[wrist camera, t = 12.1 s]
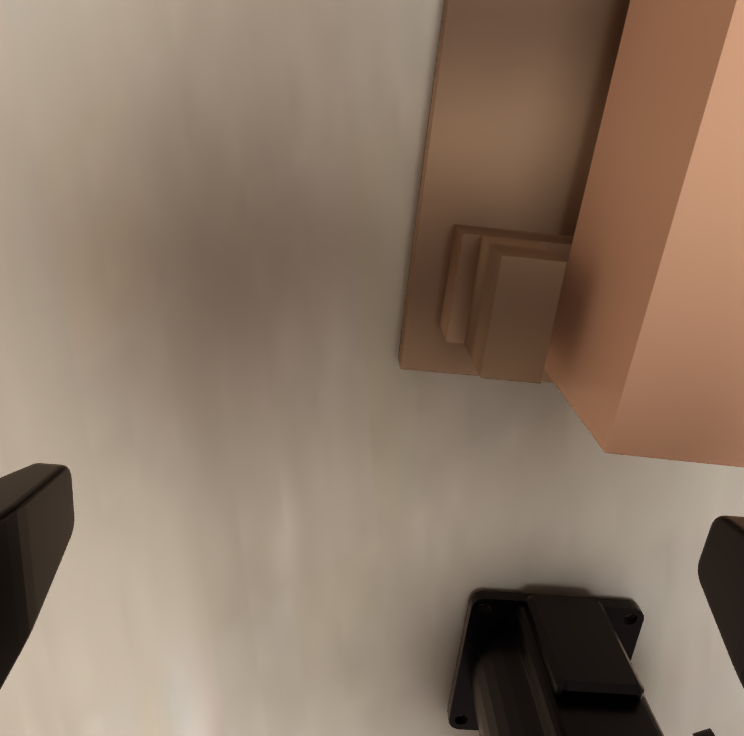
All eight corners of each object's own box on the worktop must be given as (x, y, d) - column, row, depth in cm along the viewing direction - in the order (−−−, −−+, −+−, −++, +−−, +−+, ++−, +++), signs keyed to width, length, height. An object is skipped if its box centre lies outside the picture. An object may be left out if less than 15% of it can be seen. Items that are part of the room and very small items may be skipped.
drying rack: (758, 389, 22) (867, 466, 17) (398, 357, 21) (410, 427, 17) (1003, -319, 15) (1284, -503, 11) (496, -403, 15) (562, -639, 10)
